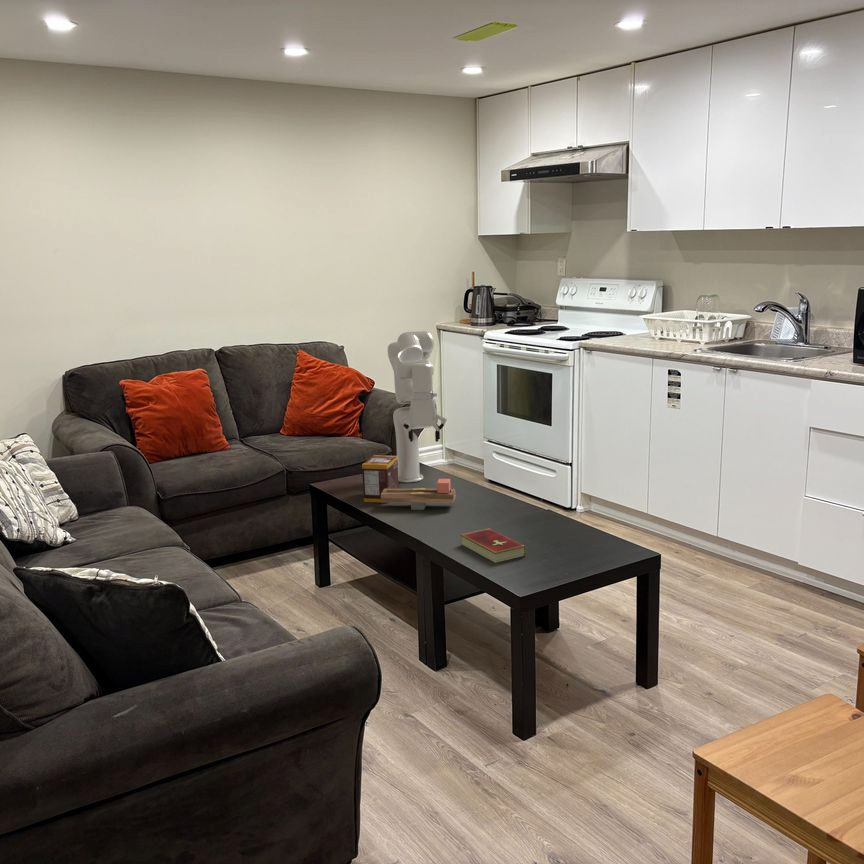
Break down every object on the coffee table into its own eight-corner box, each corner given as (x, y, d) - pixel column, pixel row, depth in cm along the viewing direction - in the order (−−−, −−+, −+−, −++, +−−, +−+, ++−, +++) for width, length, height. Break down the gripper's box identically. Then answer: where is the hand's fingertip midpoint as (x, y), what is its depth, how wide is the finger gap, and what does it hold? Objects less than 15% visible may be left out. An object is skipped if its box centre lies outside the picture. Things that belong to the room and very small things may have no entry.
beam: (385, 503, 337) (384, 487, 336) (455, 504, 334) (455, 488, 332) (381, 509, 330) (380, 493, 328) (453, 510, 326) (453, 494, 325)
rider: (439, 493, 333) (439, 478, 331) (450, 493, 332) (450, 478, 331) (437, 497, 327) (437, 483, 326) (449, 497, 326) (448, 483, 325)
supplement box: (399, 492, 352) (397, 455, 349) (388, 503, 338) (386, 465, 335) (375, 491, 355) (373, 454, 352) (363, 502, 340) (361, 464, 337)
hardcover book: (490, 539, 295) (490, 527, 294) (526, 557, 277) (526, 544, 276) (460, 545, 289) (460, 533, 288) (495, 564, 271) (494, 552, 270)
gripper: (447, 394, 321) (448, 438, 325) (402, 394, 324) (403, 438, 328) (444, 397, 314) (445, 443, 318) (398, 398, 317) (399, 443, 320)
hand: (424, 441), depth 323 cm, fingers open, 9 cm apart
